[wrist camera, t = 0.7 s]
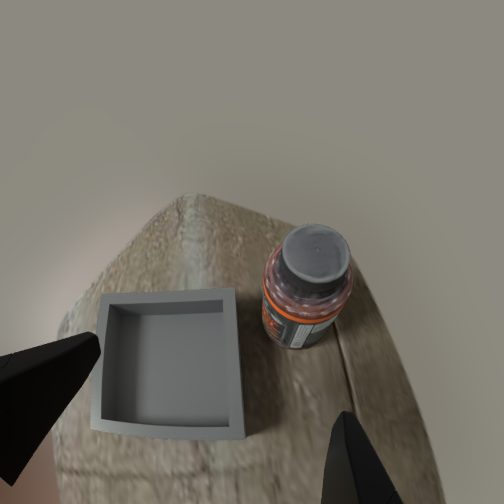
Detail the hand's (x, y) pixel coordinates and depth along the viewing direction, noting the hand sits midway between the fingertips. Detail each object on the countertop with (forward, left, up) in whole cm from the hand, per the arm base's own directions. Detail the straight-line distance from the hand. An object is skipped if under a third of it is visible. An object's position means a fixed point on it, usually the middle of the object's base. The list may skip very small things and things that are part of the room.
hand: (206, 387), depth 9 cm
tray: (+3, +5, -15) cm, 16 cm away
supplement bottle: (+7, -6, -15) cm, 18 cm away
